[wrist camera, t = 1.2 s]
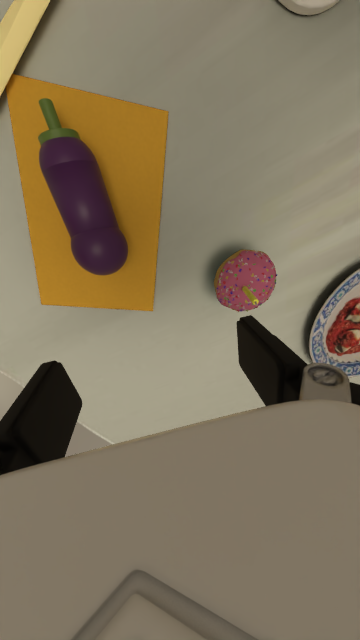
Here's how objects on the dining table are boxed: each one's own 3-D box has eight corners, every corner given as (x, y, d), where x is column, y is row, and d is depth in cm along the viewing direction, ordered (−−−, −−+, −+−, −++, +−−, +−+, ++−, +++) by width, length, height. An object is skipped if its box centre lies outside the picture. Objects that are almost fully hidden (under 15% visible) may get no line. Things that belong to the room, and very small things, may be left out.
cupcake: (209, 304, 34) (239, 343, 23) (202, 252, 30) (233, 270, 20) (259, 292, 34) (310, 325, 24) (258, 239, 31) (318, 250, 20)
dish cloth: (4, 73, 20) (2, 71, 20) (168, 112, 23) (168, 111, 23) (42, 303, 30) (41, 304, 30) (152, 310, 33) (152, 311, 33)
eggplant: (27, 122, 22) (-16, 87, 16) (87, 108, 22) (66, 69, 16) (91, 274, 29) (78, 287, 23) (136, 262, 29) (133, 273, 24)
